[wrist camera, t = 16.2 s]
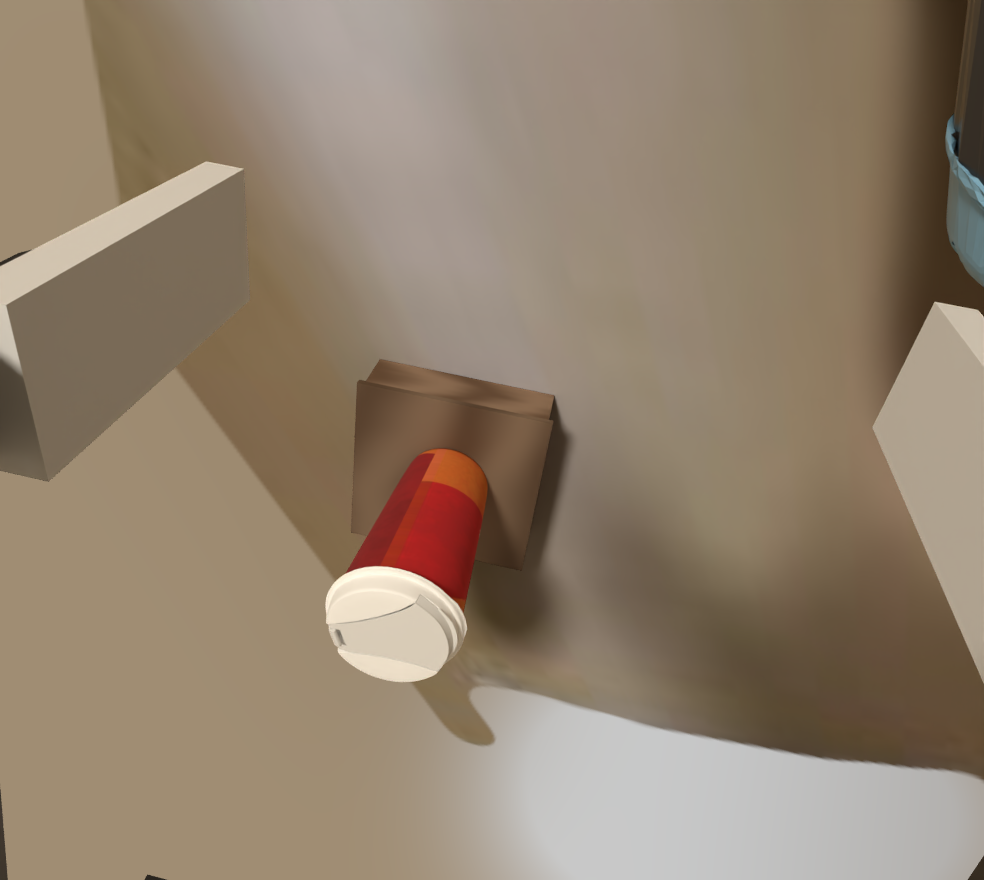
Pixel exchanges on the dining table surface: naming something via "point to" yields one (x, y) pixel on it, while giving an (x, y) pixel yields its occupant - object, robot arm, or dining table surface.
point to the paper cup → (412, 572)
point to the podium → (452, 446)
